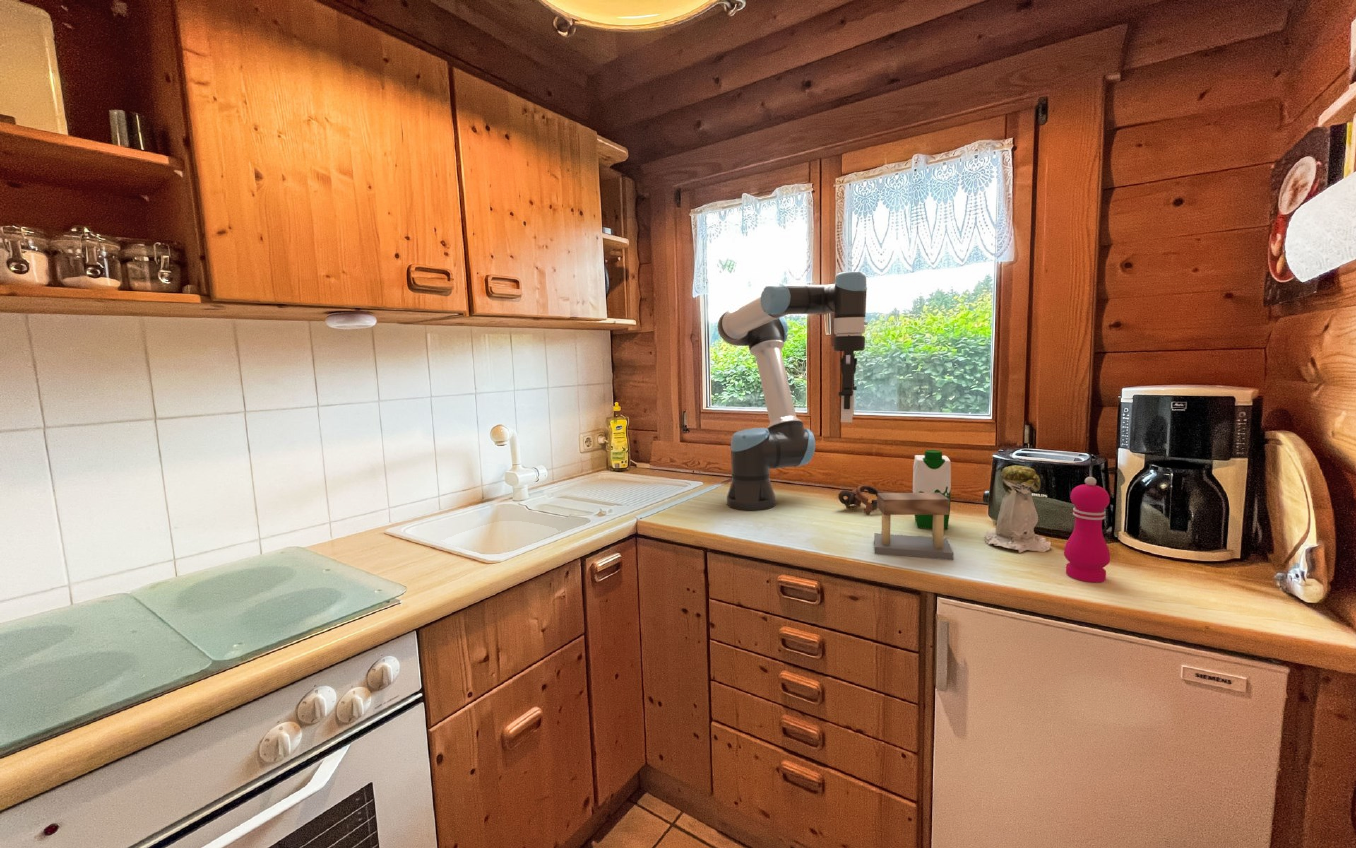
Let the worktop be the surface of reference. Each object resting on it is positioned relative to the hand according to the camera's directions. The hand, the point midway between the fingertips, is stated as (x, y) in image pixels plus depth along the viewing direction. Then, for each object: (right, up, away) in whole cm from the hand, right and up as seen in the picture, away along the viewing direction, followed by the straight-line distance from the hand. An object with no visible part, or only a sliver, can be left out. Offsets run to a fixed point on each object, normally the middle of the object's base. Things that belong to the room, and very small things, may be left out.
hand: (847, 418), depth 137 cm
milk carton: (+23, -28, +2) cm, 36 cm away
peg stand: (+10, -30, -15) cm, 35 cm away
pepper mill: (+36, -32, -33) cm, 58 cm away
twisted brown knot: (+9, -27, +18) cm, 33 cm away
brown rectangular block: (+10, -21, -16) cm, 28 cm away
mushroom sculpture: (+35, -30, -14) cm, 48 cm away
